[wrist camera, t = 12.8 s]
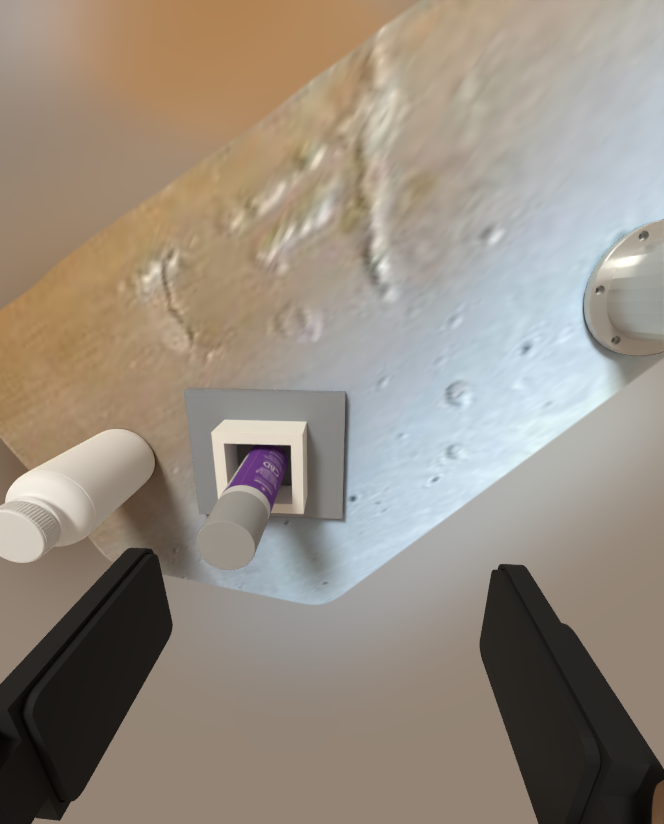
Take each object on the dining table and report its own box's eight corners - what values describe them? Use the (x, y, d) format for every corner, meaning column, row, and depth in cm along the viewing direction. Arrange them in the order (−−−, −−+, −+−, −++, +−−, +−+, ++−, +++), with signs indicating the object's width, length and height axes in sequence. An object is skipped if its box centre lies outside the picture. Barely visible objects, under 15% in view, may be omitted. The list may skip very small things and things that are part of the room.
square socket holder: (345, 391, 38) (345, 404, 33) (342, 513, 43) (341, 540, 38) (188, 388, 38) (165, 400, 34) (203, 508, 43) (184, 534, 38)
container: (293, 447, 39) (264, 530, 24) (282, 481, 40) (248, 578, 26) (254, 434, 38) (201, 511, 24) (244, 469, 40) (188, 561, 25)
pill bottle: (134, 497, 43) (30, 591, 29) (81, 456, 42) (-56, 535, 27) (170, 457, 41) (78, 538, 27) (116, 413, 40) (-12, 474, 26)
